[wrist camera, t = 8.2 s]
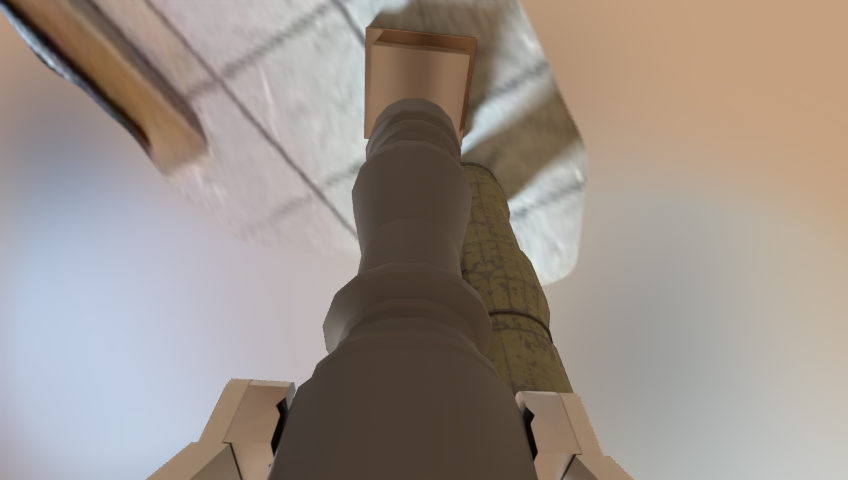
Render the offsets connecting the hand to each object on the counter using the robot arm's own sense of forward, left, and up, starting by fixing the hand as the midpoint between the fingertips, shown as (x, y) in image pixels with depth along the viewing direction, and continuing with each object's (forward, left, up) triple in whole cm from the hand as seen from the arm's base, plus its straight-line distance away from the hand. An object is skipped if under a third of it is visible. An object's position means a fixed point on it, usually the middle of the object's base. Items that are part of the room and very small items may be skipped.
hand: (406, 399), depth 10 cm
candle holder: (0, 0, -21) cm, 21 cm away
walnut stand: (0, 0, -39) cm, 39 cm away
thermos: (+7, -12, -39) cm, 42 cm away
